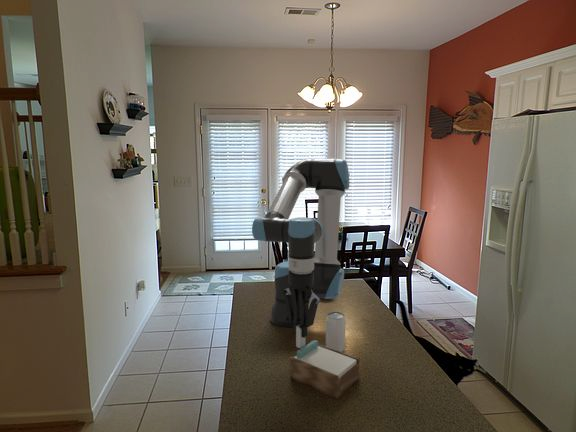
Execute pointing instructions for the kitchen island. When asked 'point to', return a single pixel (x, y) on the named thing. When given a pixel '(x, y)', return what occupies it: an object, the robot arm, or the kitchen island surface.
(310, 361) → the lid
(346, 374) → the box
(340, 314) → the can
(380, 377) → the kitchen island surface
